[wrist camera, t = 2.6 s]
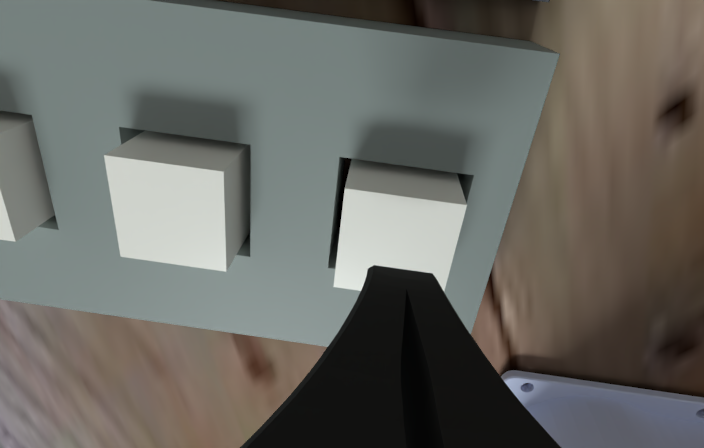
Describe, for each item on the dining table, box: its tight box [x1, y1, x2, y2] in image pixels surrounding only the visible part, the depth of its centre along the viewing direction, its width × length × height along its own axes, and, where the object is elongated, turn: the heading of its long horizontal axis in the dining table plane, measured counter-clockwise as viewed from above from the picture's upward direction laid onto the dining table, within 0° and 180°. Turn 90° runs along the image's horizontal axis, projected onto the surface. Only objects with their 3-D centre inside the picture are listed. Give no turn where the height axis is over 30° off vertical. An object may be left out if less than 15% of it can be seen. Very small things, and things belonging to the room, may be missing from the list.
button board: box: [0, 0, 560, 347], centre depth 14 cm, size 18×10×2 cm, turn 84°
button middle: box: [104, 130, 251, 272], centre depth 13 cm, size 3×3×2 cm
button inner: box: [333, 159, 467, 291], centre depth 13 cm, size 3×3×2 cm
